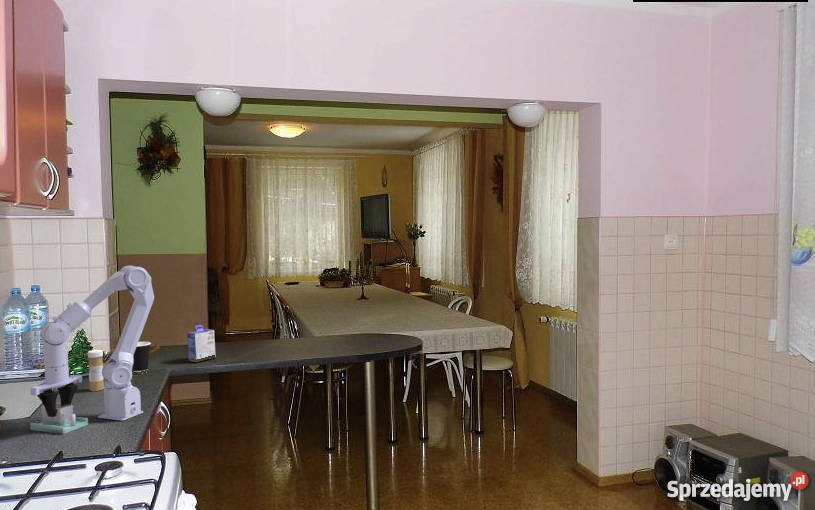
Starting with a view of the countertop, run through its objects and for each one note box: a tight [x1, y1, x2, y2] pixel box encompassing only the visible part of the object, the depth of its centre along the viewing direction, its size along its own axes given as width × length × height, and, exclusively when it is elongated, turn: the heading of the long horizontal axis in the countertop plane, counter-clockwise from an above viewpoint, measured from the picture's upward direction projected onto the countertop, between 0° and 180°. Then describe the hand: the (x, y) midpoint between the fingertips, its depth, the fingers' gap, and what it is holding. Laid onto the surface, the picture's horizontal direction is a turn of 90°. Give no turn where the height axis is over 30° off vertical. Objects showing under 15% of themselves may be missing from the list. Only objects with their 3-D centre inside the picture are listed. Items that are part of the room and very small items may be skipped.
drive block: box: [40, 402, 74, 427], centre depth 168 cm, size 7×4×5 cm, turn 70°
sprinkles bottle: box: [87, 349, 105, 392], centre depth 206 cm, size 5×5×14 cm
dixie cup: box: [132, 341, 152, 373], centre depth 230 cm, size 8×8×11 cm
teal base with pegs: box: [29, 413, 89, 435], centre depth 168 cm, size 12×8×4 cm, turn 70°
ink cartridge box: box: [186, 324, 216, 360], centre depth 248 cm, size 10×6×14 cm, turn 148°
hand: (58, 413), depth 168 cm, fingers closed on drive block, 4 cm apart
